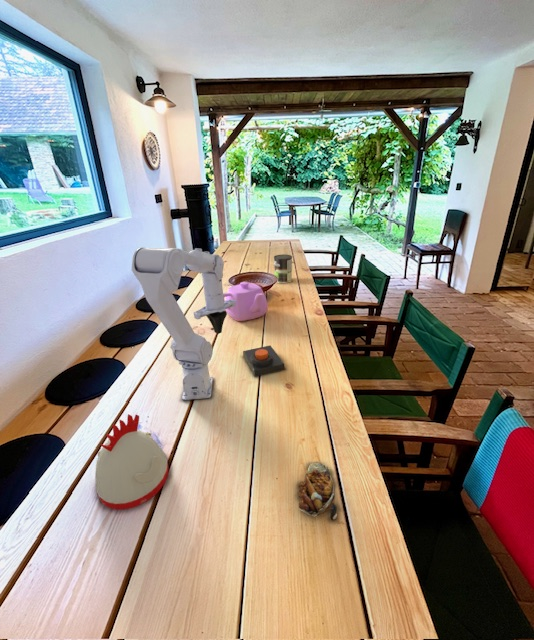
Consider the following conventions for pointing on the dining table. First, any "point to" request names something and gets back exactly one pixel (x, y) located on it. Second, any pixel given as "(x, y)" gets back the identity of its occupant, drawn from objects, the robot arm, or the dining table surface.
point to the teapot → (246, 301)
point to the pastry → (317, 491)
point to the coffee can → (283, 268)
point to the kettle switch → (263, 361)
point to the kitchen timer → (129, 467)
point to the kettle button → (261, 354)
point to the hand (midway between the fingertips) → (218, 332)
